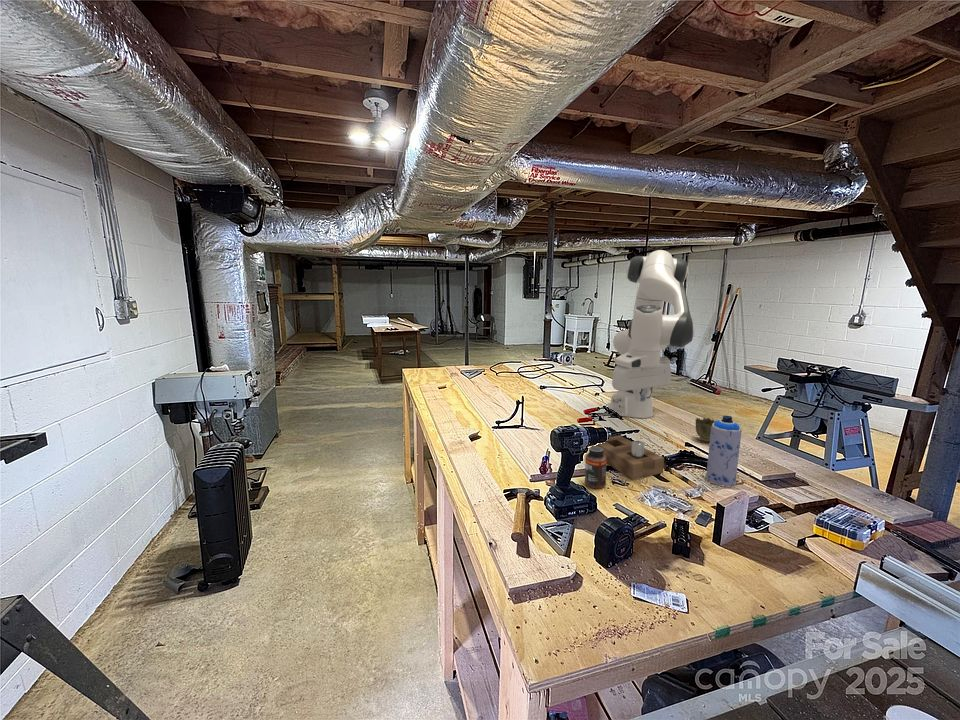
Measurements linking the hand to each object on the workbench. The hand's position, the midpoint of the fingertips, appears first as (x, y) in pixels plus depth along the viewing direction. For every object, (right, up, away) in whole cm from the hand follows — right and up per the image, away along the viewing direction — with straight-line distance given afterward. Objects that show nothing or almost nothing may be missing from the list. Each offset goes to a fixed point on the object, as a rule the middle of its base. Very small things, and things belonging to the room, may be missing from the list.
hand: (640, 401), depth 120 cm
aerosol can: (+21, -23, -6) cm, 32 cm away
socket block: (-3, -21, +6) cm, 22 cm away
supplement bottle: (-17, -24, -8) cm, 30 cm away
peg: (-1, -22, +1) cm, 22 cm away
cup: (+34, -18, +22) cm, 44 cm away
